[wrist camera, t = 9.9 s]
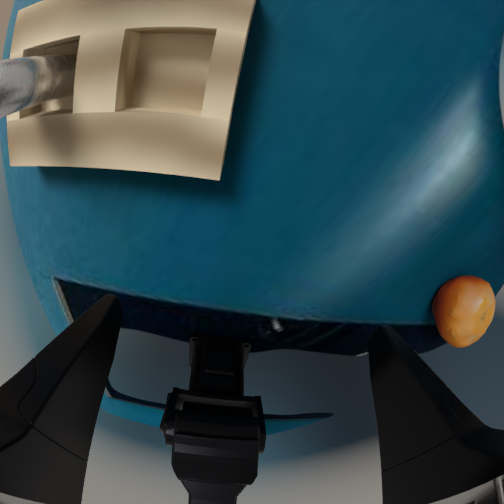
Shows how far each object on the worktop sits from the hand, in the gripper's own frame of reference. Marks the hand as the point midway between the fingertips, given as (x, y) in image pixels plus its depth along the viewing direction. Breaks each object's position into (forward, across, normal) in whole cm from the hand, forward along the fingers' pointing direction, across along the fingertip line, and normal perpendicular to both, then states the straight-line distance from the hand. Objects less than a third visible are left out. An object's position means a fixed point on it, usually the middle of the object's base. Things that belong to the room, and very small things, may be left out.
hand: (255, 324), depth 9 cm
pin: (+12, +14, -7) cm, 19 cm away
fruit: (+12, -25, +7) cm, 29 cm away
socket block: (+12, +10, -7) cm, 17 cm away
